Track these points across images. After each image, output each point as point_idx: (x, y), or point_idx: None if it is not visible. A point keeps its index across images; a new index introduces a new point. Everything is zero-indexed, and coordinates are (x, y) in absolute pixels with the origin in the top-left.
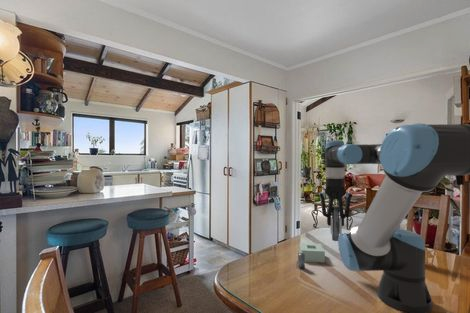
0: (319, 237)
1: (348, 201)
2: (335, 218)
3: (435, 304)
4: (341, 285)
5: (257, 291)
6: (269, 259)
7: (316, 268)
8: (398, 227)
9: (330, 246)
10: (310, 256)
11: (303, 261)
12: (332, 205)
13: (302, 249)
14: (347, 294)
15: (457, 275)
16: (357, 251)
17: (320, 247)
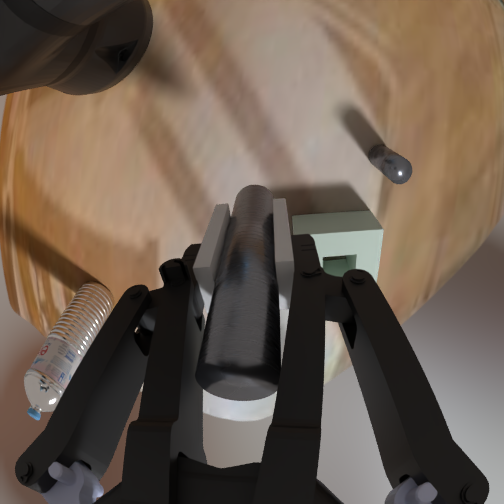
0: None
1: (69, 414)
2: (249, 265)
3: None
4: (254, 50)
5: (480, 16)
6: (460, 207)
7: (328, 160)
8: (43, 346)
9: None
10: (346, 220)
11: (384, 152)
12: (280, 382)
13: (379, 238)
14: (242, 3)
15: (5, 225)
16: None
17: None
